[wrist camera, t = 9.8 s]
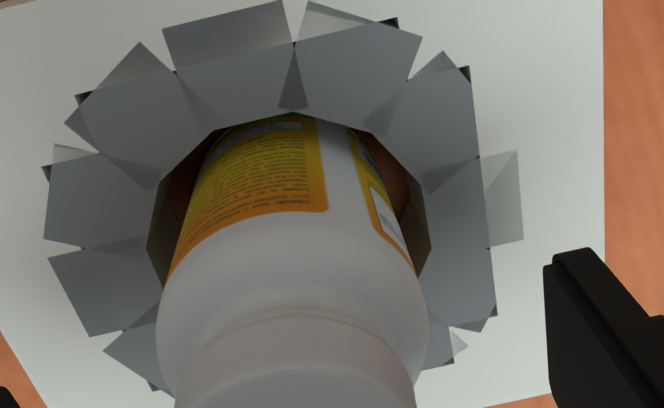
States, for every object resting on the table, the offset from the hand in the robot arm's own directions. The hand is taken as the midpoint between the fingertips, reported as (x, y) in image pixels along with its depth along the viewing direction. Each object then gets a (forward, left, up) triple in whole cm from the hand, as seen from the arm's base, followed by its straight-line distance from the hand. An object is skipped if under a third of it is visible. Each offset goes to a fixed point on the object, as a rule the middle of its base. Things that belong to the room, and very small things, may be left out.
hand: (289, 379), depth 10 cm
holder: (+1, 0, -8) cm, 8 cm away
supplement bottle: (0, 0, -8) cm, 8 cm away
